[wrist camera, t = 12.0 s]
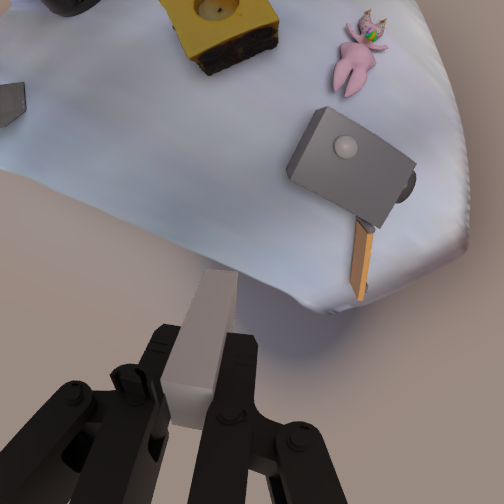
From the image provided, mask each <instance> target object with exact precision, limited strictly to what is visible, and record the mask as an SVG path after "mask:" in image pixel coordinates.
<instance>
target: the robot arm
mask: <svg viewBox="0 0 504 504" xmlns="http://www.w3.org/2000/svg"><path fill="white" fill-rule="evenodd" d="M41 1H42V2H43V3H44V4H45V5H46V6H47V7H48V8H49V9H50V11H52V12H53V13H55V14H58V15H61V16H65V17H69V16H74V15H77V14H80V13H82V12H84V11H86V10H87V9H89V8H91V7H92V6H93V5H95V4H96V3H97V2H99V1H100V0H41ZM237 281H238V272H234V271H225V270H215V269H207V268H206V269H205V272H204V274H203V276H202V278H201V281H200V283H199V285H198V288H197V290H196V293H195V295H194V297H193V300H192V302H191V305H190V307H189V310H188V312H187V314H186V317H185V319H184V321H183V324H182V326H174V325H168V324H163V325H161V326H160V327H159V328H158V329H157V330H155V331H154V333H153V335H152V338H151V339H150V343H148V345H147V347H146V351H144V354H143V355H142V358H141V360H140V362H139V364H125V365H121V366H119V367H117V368H116V369H114V370H113V371H112V373H111V374H110V377H111V379H112V382H113V384H114V386H115V388H116V390H112V391H92V390H91V388H90V387H89V386H88V385H87V384H86V383H84V382H82V381H74V380H73V381H70V382H67V383H65V384H64V385H63V386H61V387H60V388H59V390H58V391H56V392H55V393H54V394H53V395H52V397H51V398H50V399H49V400H48V401H47V402H46V403H45V404H44V405H43V406H42V407H41V408H40V409H39V410H38V411H37V412H36V413H35V414H34V415H33V417H32V418H31V419H30V420H29V421H28V422H27V423H26V424H25V425H24V426H23V428H22V429H21V430H20V431H19V432H18V433H17V434H16V435H15V436H14V437H13V438H12V440H11V441H10V442H9V443H8V444H7V445H6V446H5V448H4V449H3V450H2V451H1V452H0V504H67V503H68V502H69V500H70V499H71V500H70V503H69V504H151V501H152V497H153V493H154V490H155V486H156V482H157V478H158V474H159V471H160V467H161V463H162V460H163V456H164V452H165V449H166V445H167V442H168V438H169V432H168V429H167V428H168V425H169V421H170V418H171V421H172V424H173V425H178V426H183V427H188V428H193V429H199V430H203V431H202V436H201V440H200V445H199V450H198V454H197V459H196V464H195V469H194V473H193V478H192V483H191V488H190V493H189V497H188V503H187V504H245V497H246V487H247V477H248V469H250V470H253V471H255V472H258V473H261V474H263V475H265V476H266V480H267V484H268V489H269V492H270V497H271V500H272V504H348V503H347V500H346V498H345V495H344V492H343V490H342V487H341V485H340V482H339V479H338V477H337V474H336V471H335V469H334V466H333V464H332V461H331V459H330V456H329V453H328V450H327V448H326V445H325V443H324V440H323V437H322V435H321V433H320V432H319V430H318V429H317V428H316V427H314V426H313V425H311V424H309V423H306V422H301V421H299V422H298V421H297V422H291V423H288V424H285V425H283V424H280V423H277V422H274V421H272V420H269V419H267V418H265V417H264V416H262V415H261V414H260V413H259V411H258V410H257V409H256V407H255V404H254V390H255V378H256V365H257V352H258V344H257V342H256V340H255V338H254V336H253V335H247V334H238V333H233V327H234V322H235V313H236V297H237Z"/></svg>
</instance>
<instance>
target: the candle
mask: <svg viewBox="0 0 504 504" xmlns="http://www.w3.org/2000/svg"><path fill="white" fill-rule="evenodd" d="M159 2H160V3H161V5H162V6H163V7H164V8H165V10H166V11H167V14H168V16H169V18H170V20H171V22H172V24H173V29H174V30H175V31H176V32H177V35H178V37H179V40H180V43H181V45H182V47H183V49H184V51H185V53H186V56H187V57H188V58H189V59H190V60H191V61H194V62H196V63H197V64H198V65H199V67H200V68H201V70H202V71H204V72H205V73H206V74H207V75H208V76H211V75H212V74H213V73H214V72H215V73H216V72H219V71H221V70H222V69H226V68H228V67H230V66H232V65H234V64H237V63H239V62H241V61H243V60H245V59H249V58H250V57H253V56H255V55H256V54H258V53H261V52H263V51H265V50H270V49H273V48H274V47H276V46H277V44H278V29H277V28H278V27H279V26H278V24H279V18H278V16H277V15H276V13H275V11H274V10H273V8H272V6H271V5H270V3H269V2H268V0H159Z"/></svg>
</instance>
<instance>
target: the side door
mask: <svg viewBox="0 0 504 504" xmlns="http://www.w3.org/2000/svg"><path fill="white" fill-rule="evenodd" d="M356 218H357V219H358V220H357V223H356V234H355V244H354V253H353V262H352V270H351V277H350V283H351V286H352V288H353V291H354V293H355V295H356V298H357V300H358V301H359V300H363V297H364V293H367V290H368V285H367V283H366V280H367V274H368V268H369V261H370V255H371V247H372V239H373V233H374V232H375V227H374V226H373V225H372V224H371V223H369V222H367V221H365V220H364V219H362V218H360V217H358V216H357V215H356Z"/></svg>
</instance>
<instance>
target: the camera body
mask: <svg viewBox="0 0 504 504" xmlns="http://www.w3.org/2000/svg"><path fill="white" fill-rule="evenodd" d="M416 164H417V163H415V162H414V161H413V160H411V159H410V158H409V157H407V156H406V155H405V154H403V153H402V152H400V151H399V150H398V149H396V148H395V147H393V146H392V145H390V144H389V143H387V142H386V141H384V140H383V139H381V138H380V137H378V136H377V135H375V134H374V133H372V132H371V131H369V130H368V129H366V128H364V127H363V126H361V125H359V124H358V123H356V122H355V121H353V120H351V119H349V118H348V117H346V116H344V115H343V114H341V113H339V112H337V111H335V110H334V109H332V108H330V107H328V106H327V107H324V108H321V109H318V110H316V111H315V113H314V115H313V117H312V119H311V121H310V123H309V125H308V127H307V129H306V131H305V133H304V135H303V137H302V139H301V141H300V143H299V144H298V146H297V148H296V150H295V152H294V154H293V156H292V158H291V160H290V162H289V164H288V166H287V168H286V170H287V173H288V177H289V180H290V181H292V182H294V183H296V184H298V185H300V186H302V187H304V188H306V189H308V190H310V191H312V192H314V193H316V194H318V195H320V196H322V197H324V198H325V199H327V200H329V201H331V202H333V203H335V204H337V205H339V206H340V207H342V208H344V209H346V210H348V211H349V212H351V213H353V214H355V215H357V216H358V217H360V218H362V219H364V220H365V221H367V222H369V223H371V224H372V225H374V226H376V227H377V228H379V229H380V228H381V226H382V225H383V223H384V221H385V220H386V218H387V216H388V215H389V213H390V211H391V210H392V208H393V206H394V204H395V203H401V202H403V201H405V200H406V199H407V198H408V197H409V195H410V194H411V192H412V191H413V189H414V186H415V183H416V173H415V171H414V168H415V166H416Z"/></svg>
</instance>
